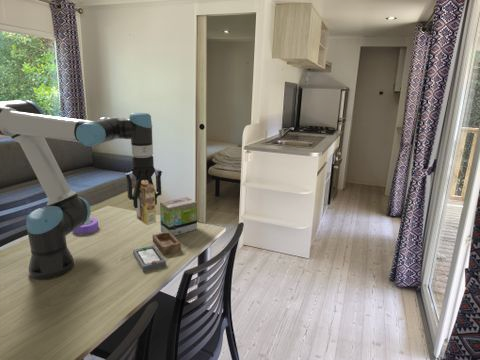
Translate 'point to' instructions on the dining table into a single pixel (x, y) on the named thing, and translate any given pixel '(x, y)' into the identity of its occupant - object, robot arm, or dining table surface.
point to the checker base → (154, 263)
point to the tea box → (178, 215)
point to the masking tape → (87, 227)
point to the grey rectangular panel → (148, 256)
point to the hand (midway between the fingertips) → (145, 214)
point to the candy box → (147, 203)
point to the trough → (166, 242)
